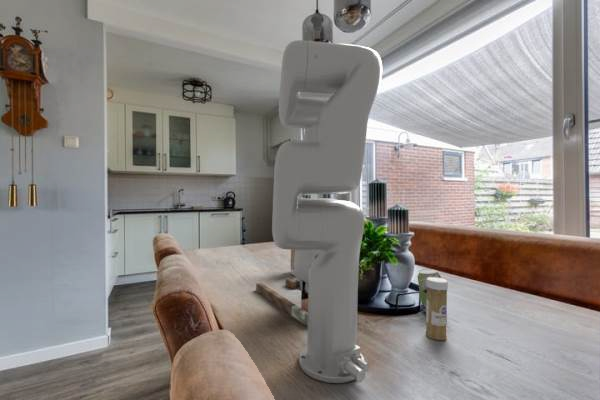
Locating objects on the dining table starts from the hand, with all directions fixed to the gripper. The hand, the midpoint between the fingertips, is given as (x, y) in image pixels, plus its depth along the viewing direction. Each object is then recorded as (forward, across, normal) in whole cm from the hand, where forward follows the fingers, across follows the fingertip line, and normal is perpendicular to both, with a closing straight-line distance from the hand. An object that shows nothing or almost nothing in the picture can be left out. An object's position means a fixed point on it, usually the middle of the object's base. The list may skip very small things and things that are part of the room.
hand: (307, 304), depth 81 cm
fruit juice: (+1, +33, -19) cm, 38 cm away
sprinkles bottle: (+1, -29, -17) cm, 34 cm away
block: (+1, -5, 0) cm, 5 cm away
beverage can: (+1, -20, -29) cm, 35 cm away
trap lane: (+1, +6, -4) cm, 7 cm away
